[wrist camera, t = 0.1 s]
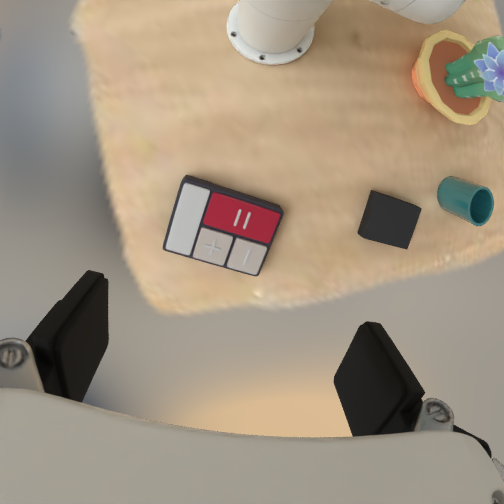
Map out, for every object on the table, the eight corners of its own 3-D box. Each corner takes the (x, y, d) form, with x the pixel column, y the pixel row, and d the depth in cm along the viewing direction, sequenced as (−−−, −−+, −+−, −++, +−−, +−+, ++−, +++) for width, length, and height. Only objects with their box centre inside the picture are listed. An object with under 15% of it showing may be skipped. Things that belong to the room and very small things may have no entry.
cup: (443, 171, 46) (475, 181, 37) (466, 182, 46) (497, 193, 38) (433, 205, 48) (463, 220, 39) (456, 214, 49) (486, 230, 40)
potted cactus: (398, 25, 36) (499, -18, 13) (466, 59, 37) (568, 50, 14) (389, 107, 41) (505, 105, 18) (459, 134, 43) (568, 156, 20)
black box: (370, 190, 46) (377, 193, 44) (413, 204, 48) (421, 208, 45) (357, 232, 49) (363, 238, 47) (400, 244, 50) (407, 249, 48)
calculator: (258, 279, 47) (160, 252, 43) (255, 267, 51) (165, 241, 47) (286, 212, 43) (181, 178, 40) (280, 204, 47) (185, 174, 44)
